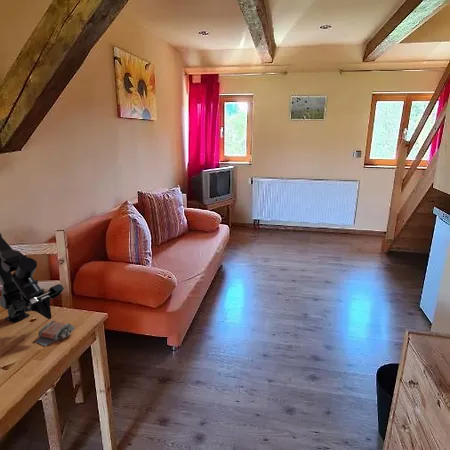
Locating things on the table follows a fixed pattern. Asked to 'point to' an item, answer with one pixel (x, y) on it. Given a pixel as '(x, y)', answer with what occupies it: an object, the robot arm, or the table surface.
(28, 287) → the robot arm
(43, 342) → the pad
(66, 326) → the lighter
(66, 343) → the table surface
